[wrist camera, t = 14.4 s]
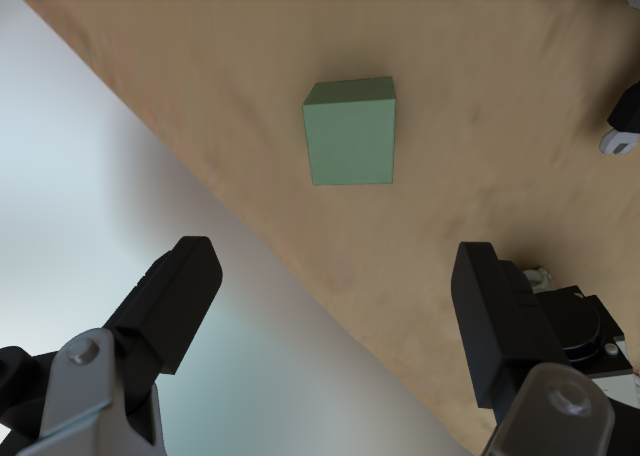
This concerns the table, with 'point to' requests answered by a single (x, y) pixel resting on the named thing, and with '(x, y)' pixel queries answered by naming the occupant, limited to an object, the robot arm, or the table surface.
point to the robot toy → (624, 118)
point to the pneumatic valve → (587, 336)
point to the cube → (351, 131)
